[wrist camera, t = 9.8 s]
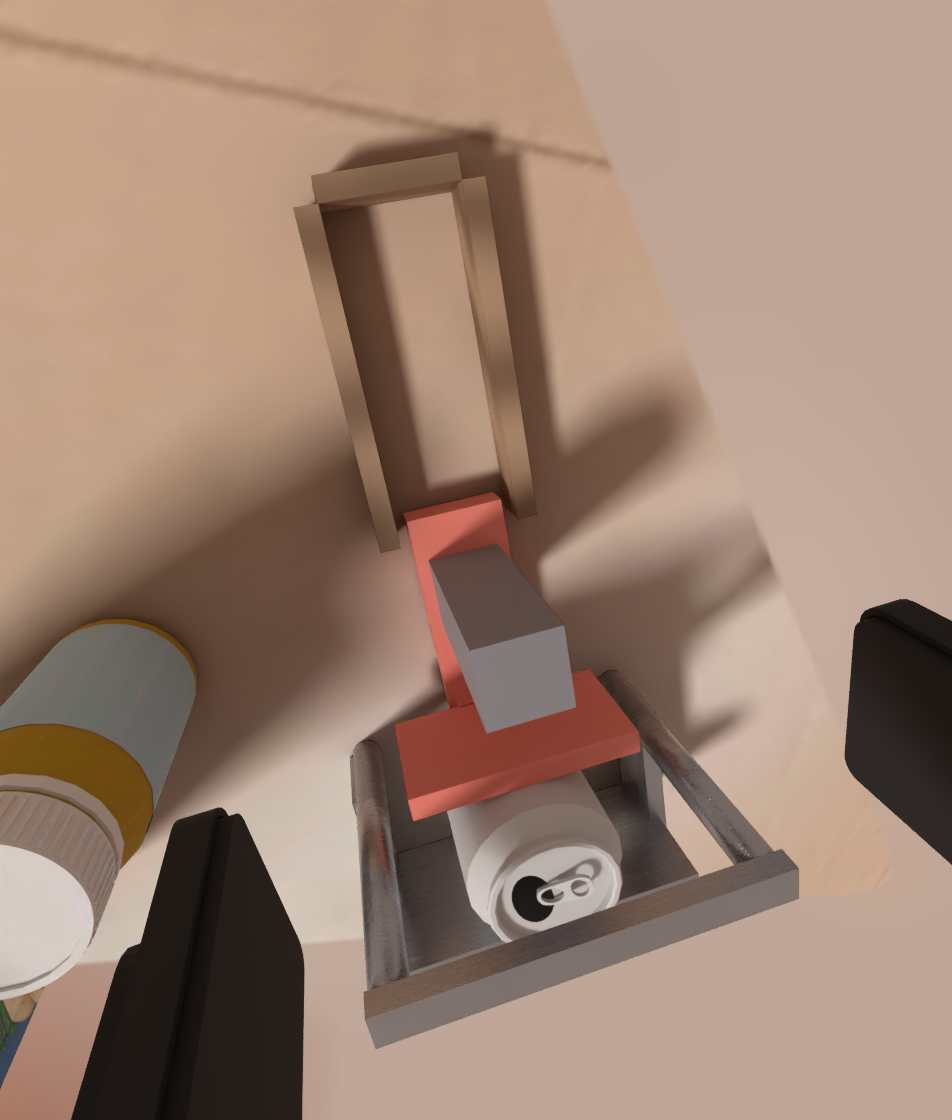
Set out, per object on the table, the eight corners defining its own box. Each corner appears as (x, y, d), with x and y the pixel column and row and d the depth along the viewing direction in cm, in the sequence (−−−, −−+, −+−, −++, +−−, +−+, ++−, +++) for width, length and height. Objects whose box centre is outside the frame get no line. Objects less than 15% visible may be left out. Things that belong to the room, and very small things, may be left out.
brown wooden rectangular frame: (289, 192, 27) (286, 179, 25) (469, 163, 28) (481, 148, 26) (377, 538, 33) (380, 552, 31) (523, 503, 34) (537, 514, 32)
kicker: (343, 527, 32) (351, 623, 21) (548, 478, 34) (653, 545, 23) (395, 717, 36) (423, 877, 26) (575, 665, 38) (674, 796, 27)
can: (412, 719, 37) (448, 881, 26) (529, 666, 38) (613, 803, 27) (458, 810, 40) (508, 992, 29) (566, 760, 41) (656, 919, 29)
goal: (346, 746, 37) (359, 1021, 22) (623, 666, 39) (803, 866, 24) (385, 873, 40) (419, 1183, 26) (637, 793, 43) (801, 1034, 28)
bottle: (149, 756, 34) (28, 1040, 20) (20, 691, 32) (-218, 966, 18) (227, 661, 34) (158, 889, 20) (101, 587, 31) (-81, 789, 17)
